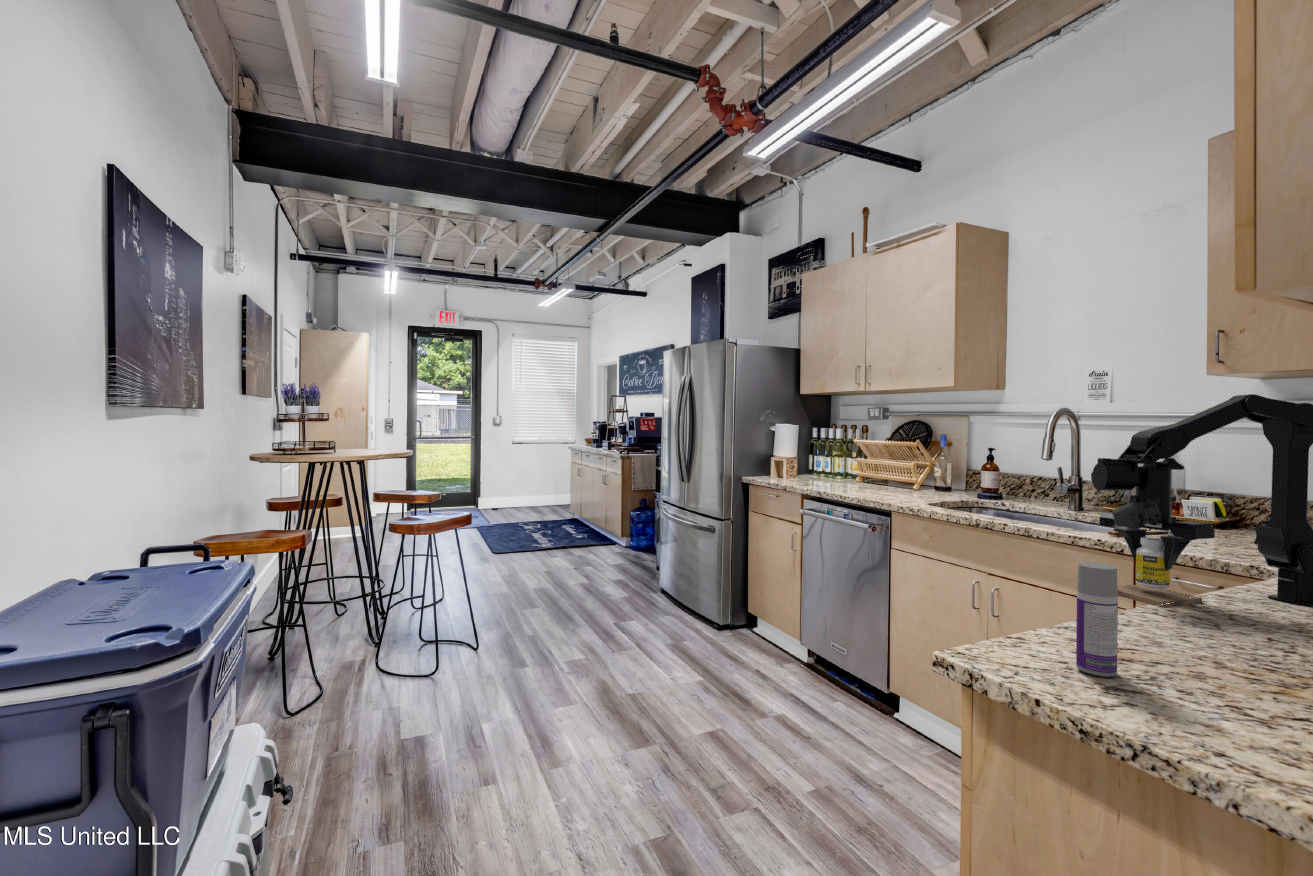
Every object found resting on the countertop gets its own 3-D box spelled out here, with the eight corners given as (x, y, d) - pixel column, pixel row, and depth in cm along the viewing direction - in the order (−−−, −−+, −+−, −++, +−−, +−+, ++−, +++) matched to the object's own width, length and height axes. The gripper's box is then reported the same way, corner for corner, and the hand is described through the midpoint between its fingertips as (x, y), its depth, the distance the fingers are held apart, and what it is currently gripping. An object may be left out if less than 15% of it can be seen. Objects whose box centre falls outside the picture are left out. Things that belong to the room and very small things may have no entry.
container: (1077, 661, 87) (1078, 560, 87) (1117, 669, 84) (1118, 565, 84) (1074, 670, 83) (1075, 566, 83) (1116, 679, 80) (1117, 571, 80)
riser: (1144, 591, 128) (1144, 584, 128) (1202, 606, 117) (1202, 598, 117) (1104, 594, 125) (1105, 587, 125) (1160, 609, 114) (1160, 601, 114)
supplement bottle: (1139, 587, 120) (1139, 539, 120) (1132, 581, 125) (1132, 535, 125) (1173, 590, 117) (1173, 541, 117) (1165, 584, 122) (1165, 537, 122)
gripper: (1079, 488, 128) (1079, 559, 128) (1173, 496, 110) (1173, 579, 110) (1118, 486, 131) (1118, 556, 131) (1216, 495, 113) (1216, 575, 113)
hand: (1152, 566), depth 121 cm, fingers closed on supplement bottle, 5 cm apart
